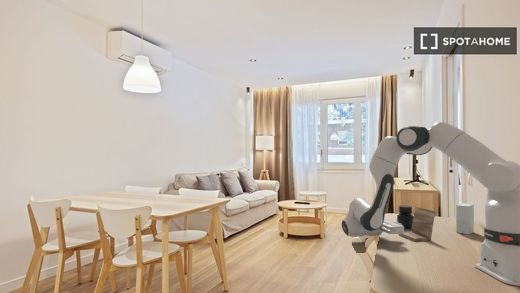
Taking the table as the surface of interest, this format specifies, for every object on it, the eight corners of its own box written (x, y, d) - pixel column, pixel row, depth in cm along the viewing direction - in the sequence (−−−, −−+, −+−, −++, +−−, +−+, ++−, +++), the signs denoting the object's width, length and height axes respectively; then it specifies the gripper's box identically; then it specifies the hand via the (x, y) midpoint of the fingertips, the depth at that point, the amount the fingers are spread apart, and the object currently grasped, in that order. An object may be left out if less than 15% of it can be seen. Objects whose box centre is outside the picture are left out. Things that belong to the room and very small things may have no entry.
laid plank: (415, 241, 145) (414, 238, 145) (398, 235, 156) (398, 231, 156) (427, 240, 146) (427, 237, 146) (410, 234, 158) (410, 231, 158)
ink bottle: (416, 227, 173) (415, 205, 174) (414, 230, 166) (413, 208, 166) (397, 225, 179) (397, 204, 179) (395, 228, 171) (394, 206, 172)
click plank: (428, 239, 146) (432, 210, 147) (410, 233, 158) (415, 206, 159) (430, 240, 146) (435, 211, 147) (413, 234, 158) (417, 207, 159)
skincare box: (461, 230, 166) (461, 202, 167) (474, 232, 161) (474, 204, 162) (456, 232, 161) (455, 204, 161) (469, 235, 156) (468, 205, 157)
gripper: (387, 224, 137) (414, 222, 140) (363, 215, 157) (387, 214, 160) (387, 238, 137) (414, 236, 140) (363, 227, 157) (387, 226, 160)
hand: (399, 224), depth 150 cm, fingers closed
